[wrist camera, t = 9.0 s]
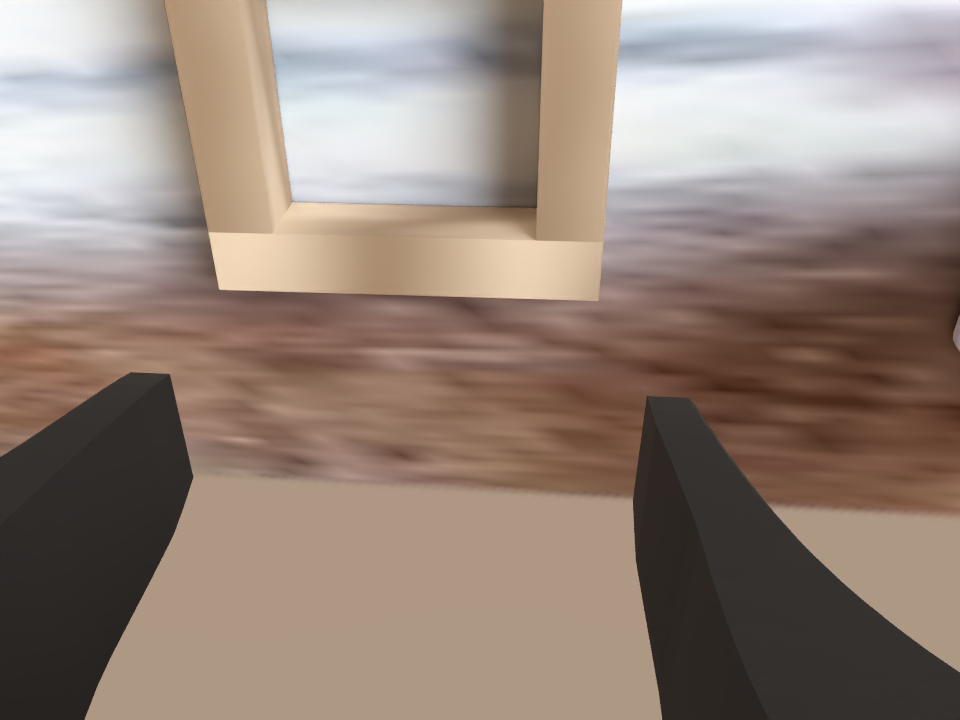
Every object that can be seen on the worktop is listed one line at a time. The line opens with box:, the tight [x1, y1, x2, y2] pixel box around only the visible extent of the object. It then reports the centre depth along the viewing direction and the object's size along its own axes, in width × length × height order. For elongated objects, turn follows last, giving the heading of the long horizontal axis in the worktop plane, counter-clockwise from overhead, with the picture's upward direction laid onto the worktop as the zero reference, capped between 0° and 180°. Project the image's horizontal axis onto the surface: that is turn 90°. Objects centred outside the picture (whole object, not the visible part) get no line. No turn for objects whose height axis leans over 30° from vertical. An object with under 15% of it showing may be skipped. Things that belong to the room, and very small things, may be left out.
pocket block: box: [164, 0, 622, 301], centre depth 19 cm, size 9×9×2 cm
